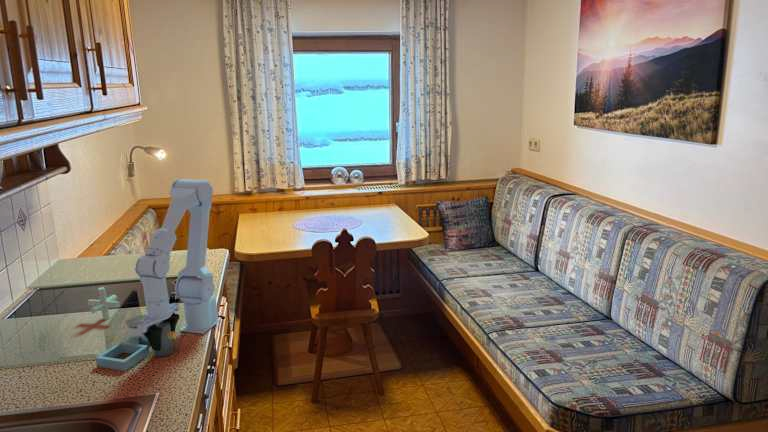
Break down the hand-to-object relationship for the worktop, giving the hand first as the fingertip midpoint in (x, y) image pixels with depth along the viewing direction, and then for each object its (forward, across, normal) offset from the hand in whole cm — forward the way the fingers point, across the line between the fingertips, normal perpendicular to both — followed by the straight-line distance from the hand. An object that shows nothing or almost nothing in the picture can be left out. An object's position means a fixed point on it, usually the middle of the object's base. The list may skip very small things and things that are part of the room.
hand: (163, 345), depth 151 cm
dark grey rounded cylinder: (+2, 0, 0) cm, 2 cm away
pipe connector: (+2, -14, -32) cm, 35 cm away
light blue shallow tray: (+2, +6, -8) cm, 10 cm away
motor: (+2, -4, -10) cm, 11 cm away
